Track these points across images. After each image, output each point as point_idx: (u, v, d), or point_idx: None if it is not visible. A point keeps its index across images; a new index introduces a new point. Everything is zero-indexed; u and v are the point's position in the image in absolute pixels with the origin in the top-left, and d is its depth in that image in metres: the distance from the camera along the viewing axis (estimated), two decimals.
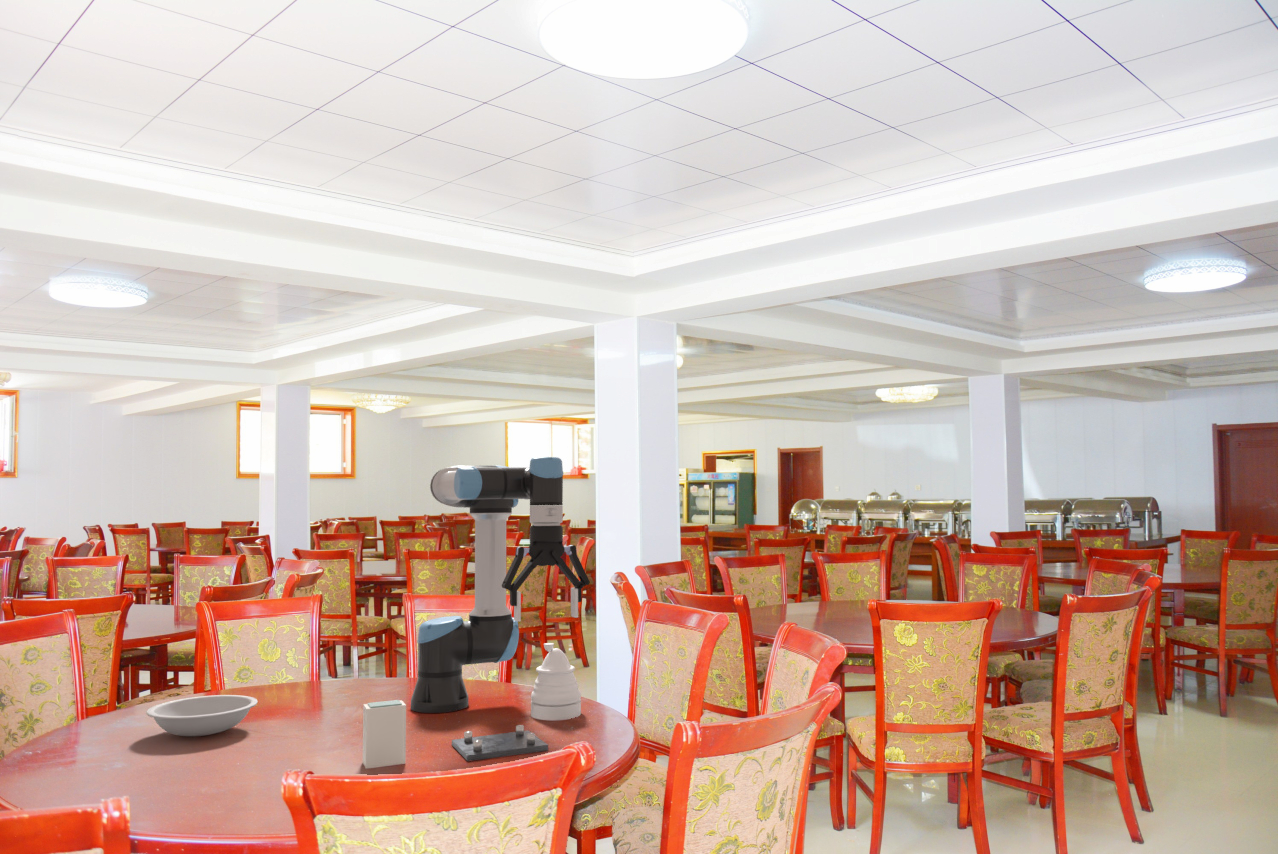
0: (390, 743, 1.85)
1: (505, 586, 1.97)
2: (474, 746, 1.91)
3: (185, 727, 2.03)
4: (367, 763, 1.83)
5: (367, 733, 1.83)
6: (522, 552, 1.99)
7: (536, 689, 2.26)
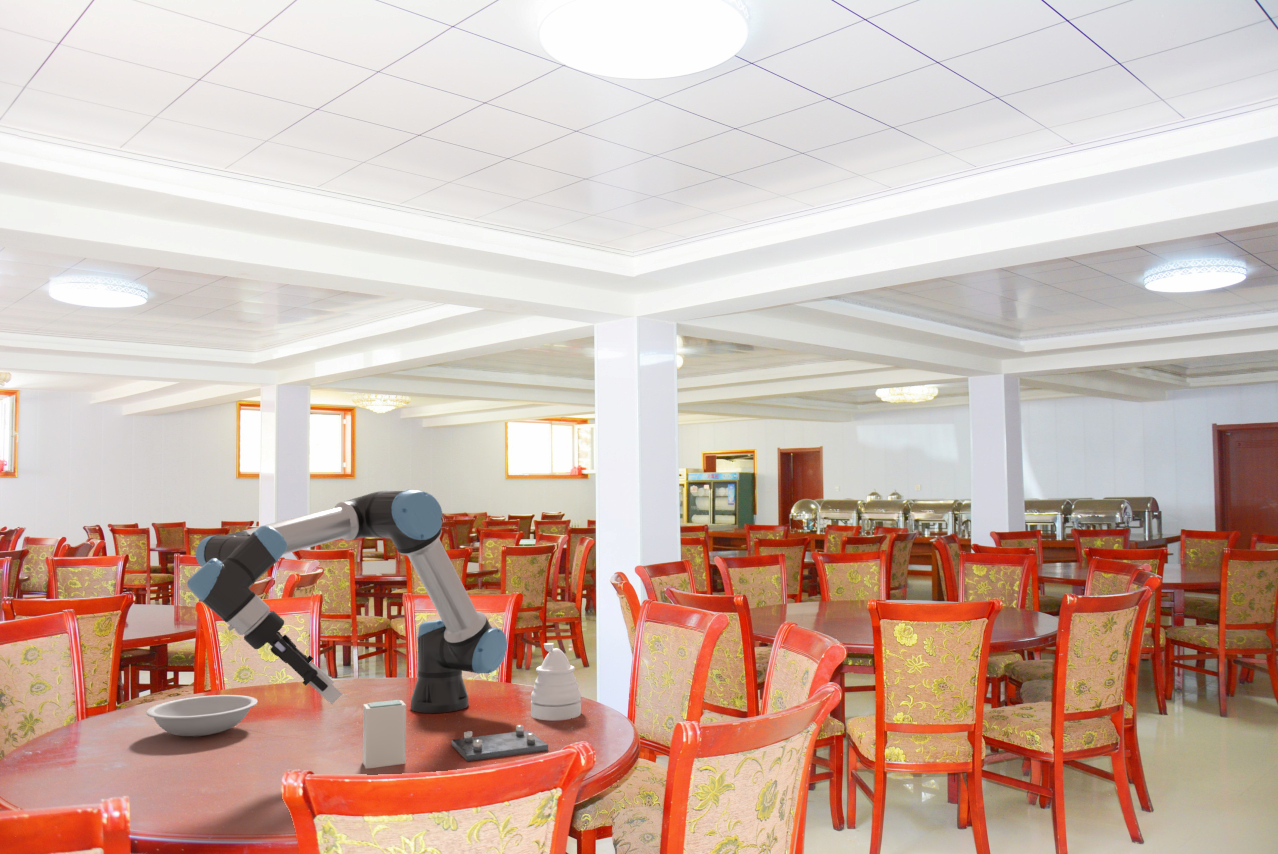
0: (390, 743, 1.85)
1: None
2: (474, 746, 1.91)
3: (185, 727, 2.03)
4: (367, 763, 1.83)
5: (367, 733, 1.83)
6: None
7: (536, 689, 2.26)
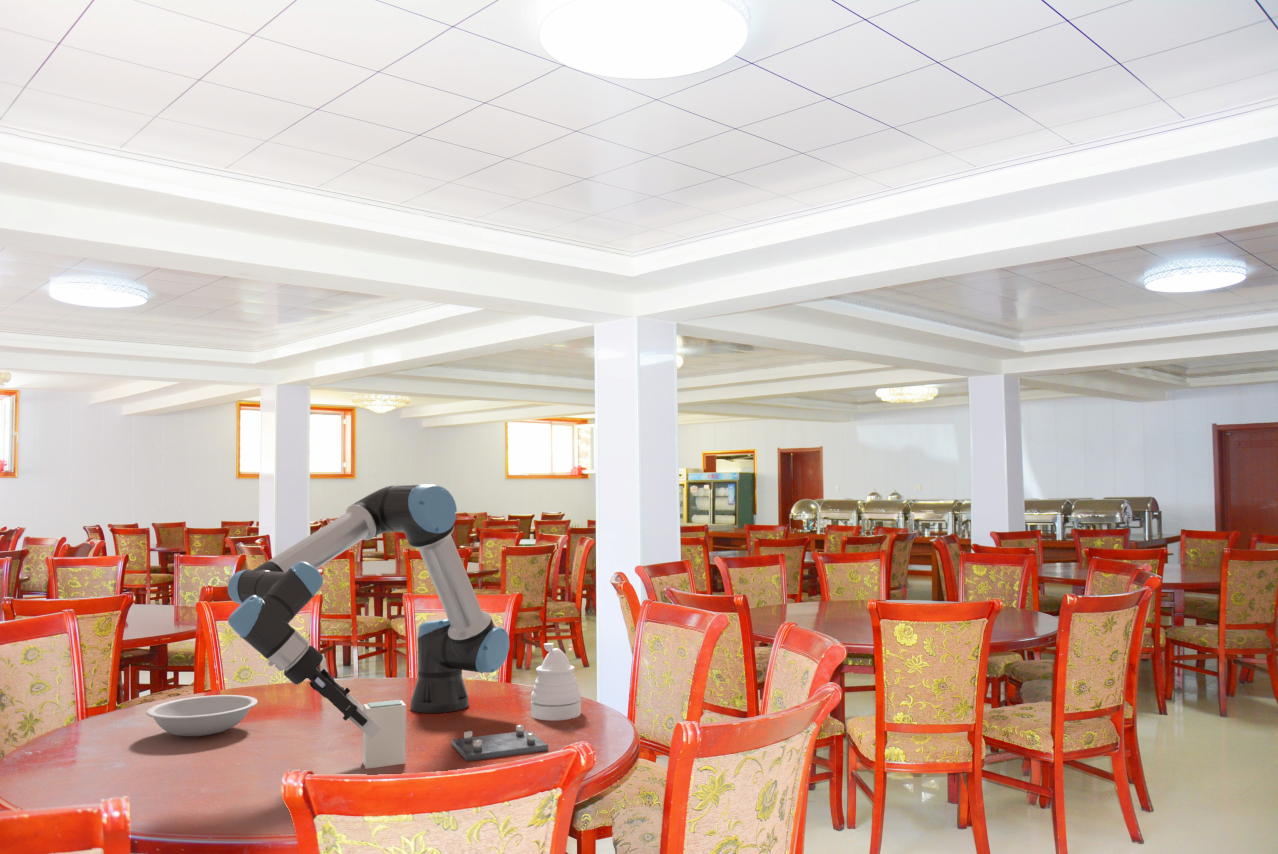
0: (390, 743, 1.85)
1: None
2: (474, 746, 1.91)
3: (185, 727, 2.03)
4: (367, 763, 1.83)
5: None
6: None
7: (536, 689, 2.26)
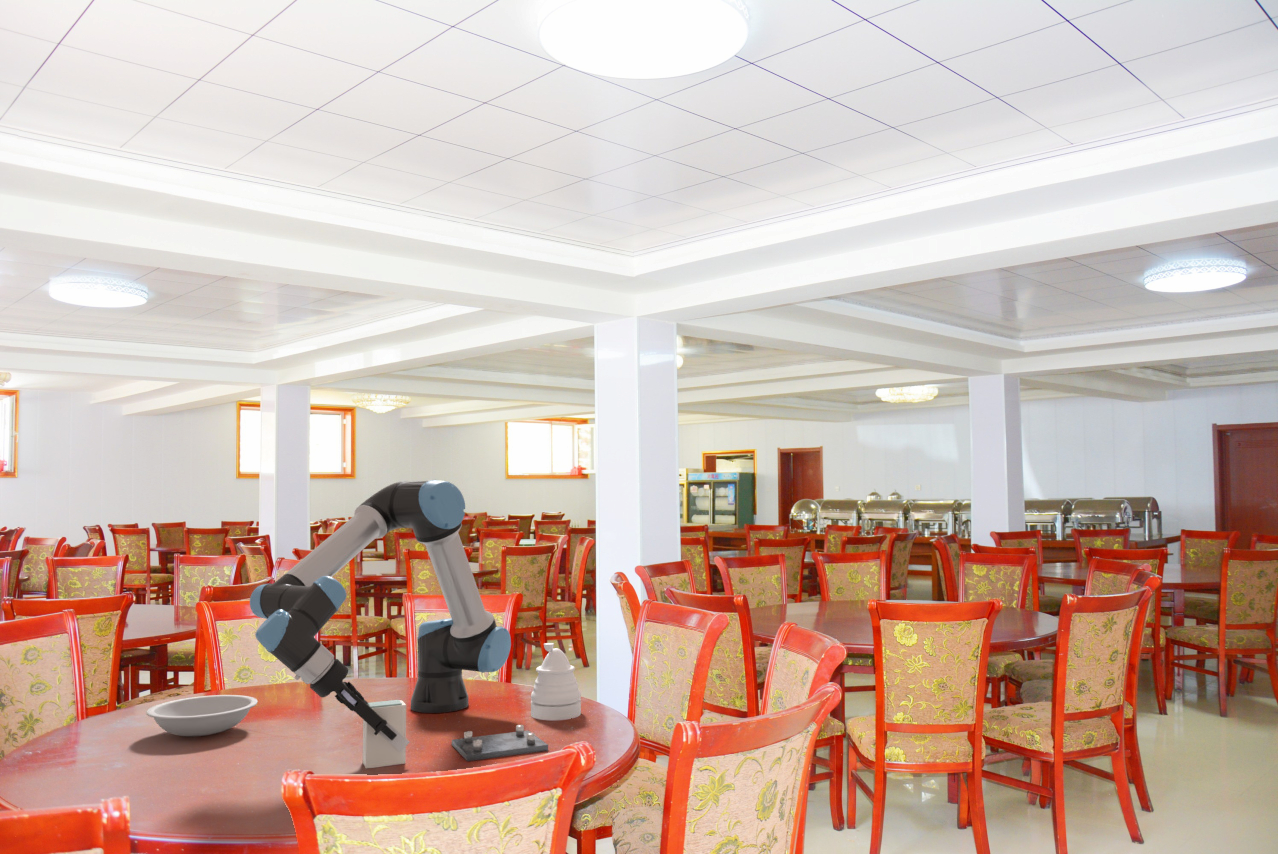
0: None
1: None
2: (474, 746, 1.91)
3: (185, 727, 2.03)
4: (367, 763, 1.83)
5: (367, 733, 1.83)
6: None
7: (536, 689, 2.26)
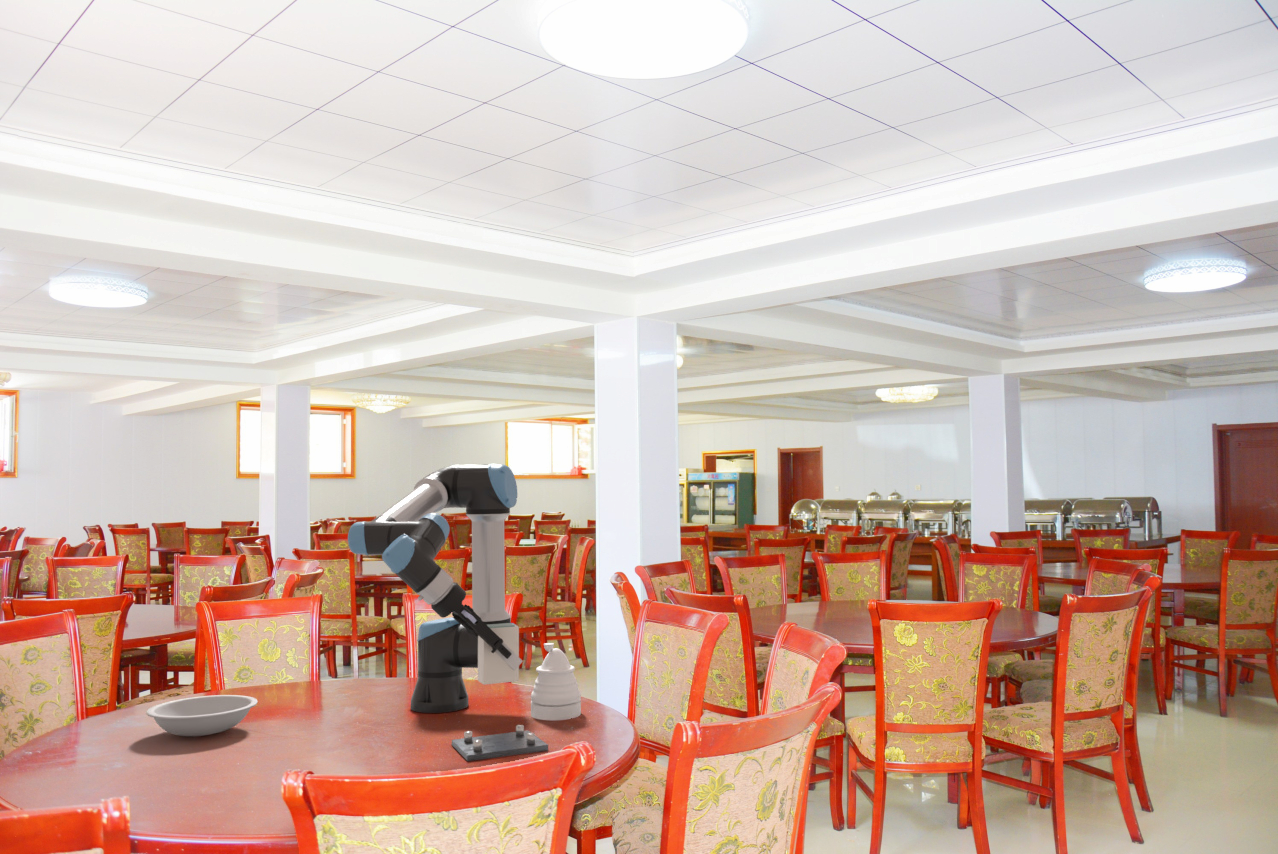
0: (505, 662, 1.97)
1: None
2: (474, 746, 1.91)
3: (185, 727, 2.03)
4: (484, 679, 1.95)
5: (484, 651, 1.95)
6: None
7: (536, 689, 2.26)
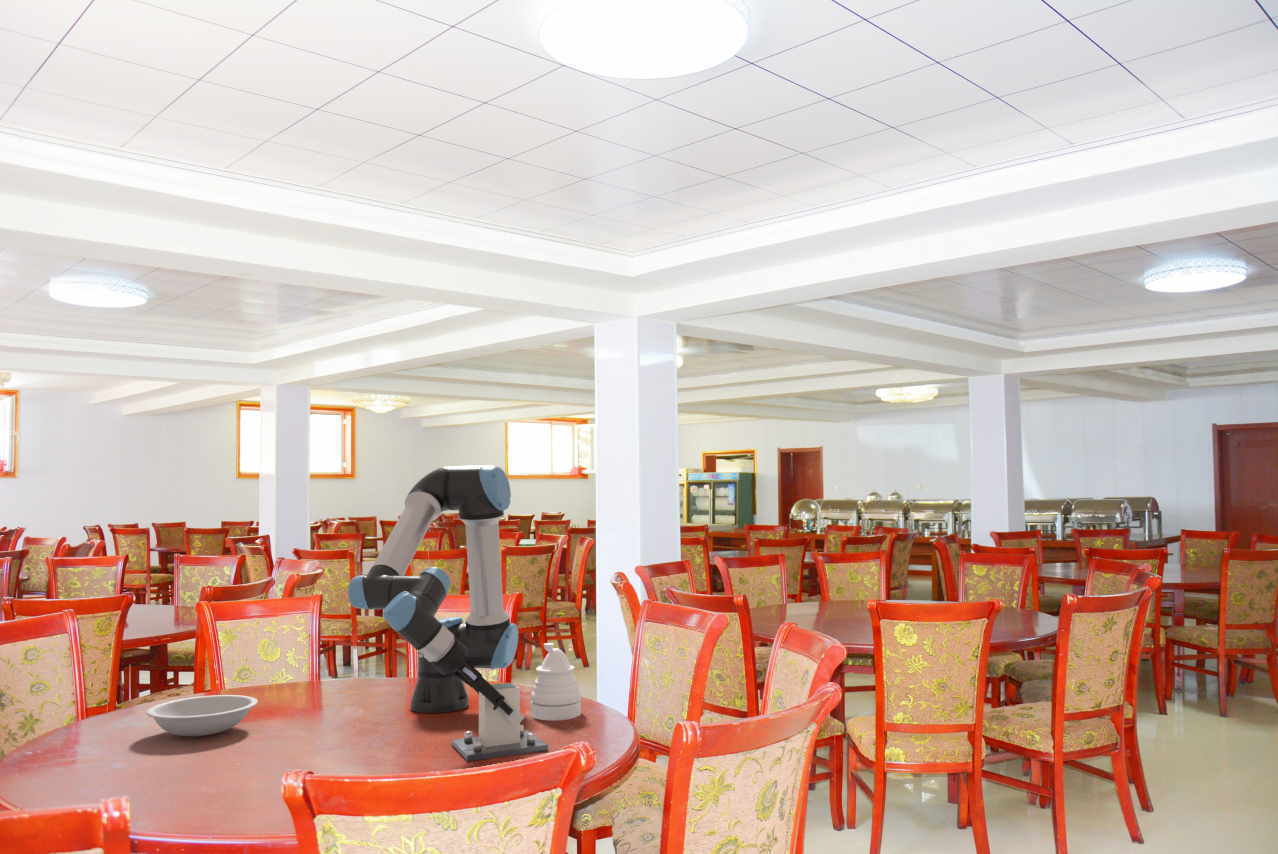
0: (506, 723, 1.96)
1: None
2: (474, 746, 1.91)
3: (185, 727, 2.03)
4: (486, 742, 1.94)
5: (485, 713, 1.94)
6: (455, 671, 2.00)
7: (536, 689, 2.26)
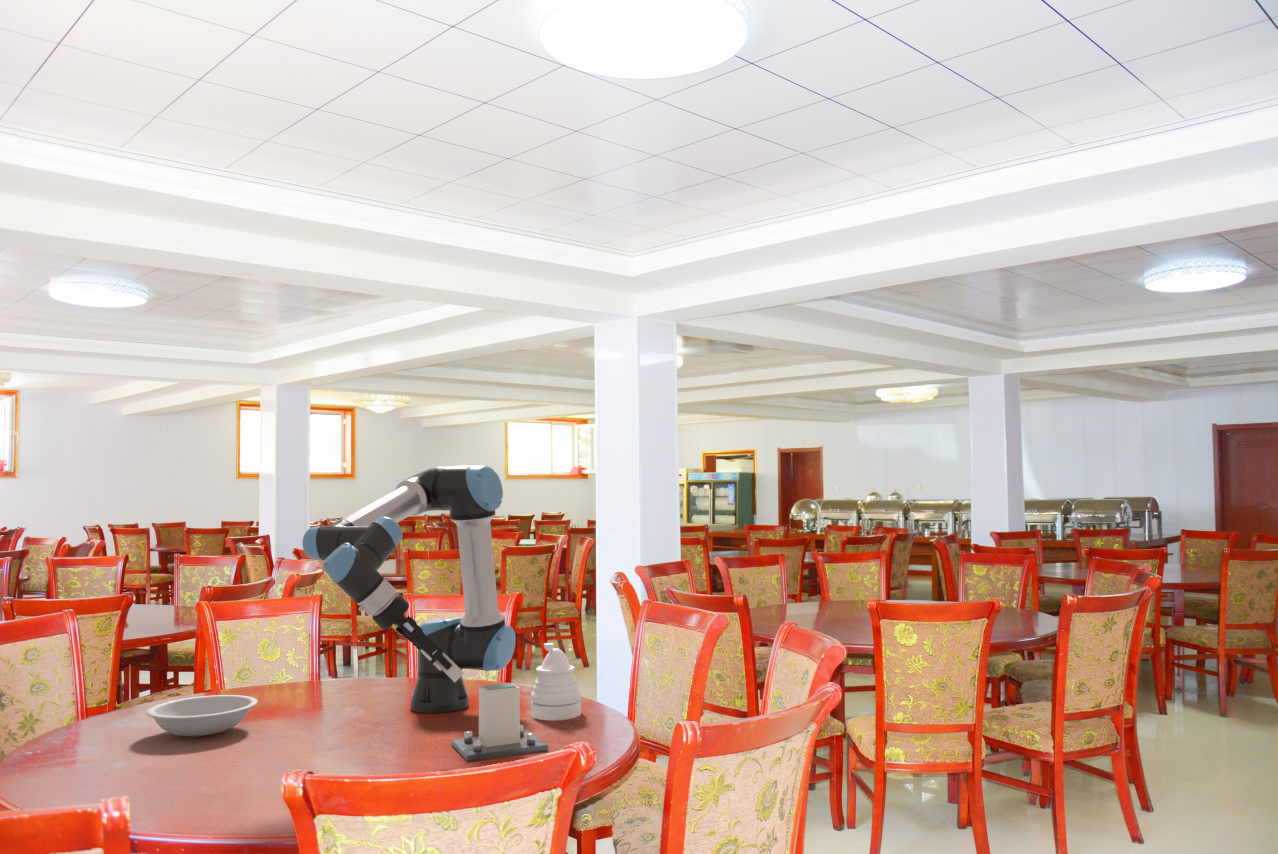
0: (506, 723, 1.96)
1: None
2: (474, 746, 1.91)
3: (185, 727, 2.03)
4: (486, 742, 1.94)
5: (485, 713, 1.94)
6: (394, 624, 1.96)
7: (536, 689, 2.26)
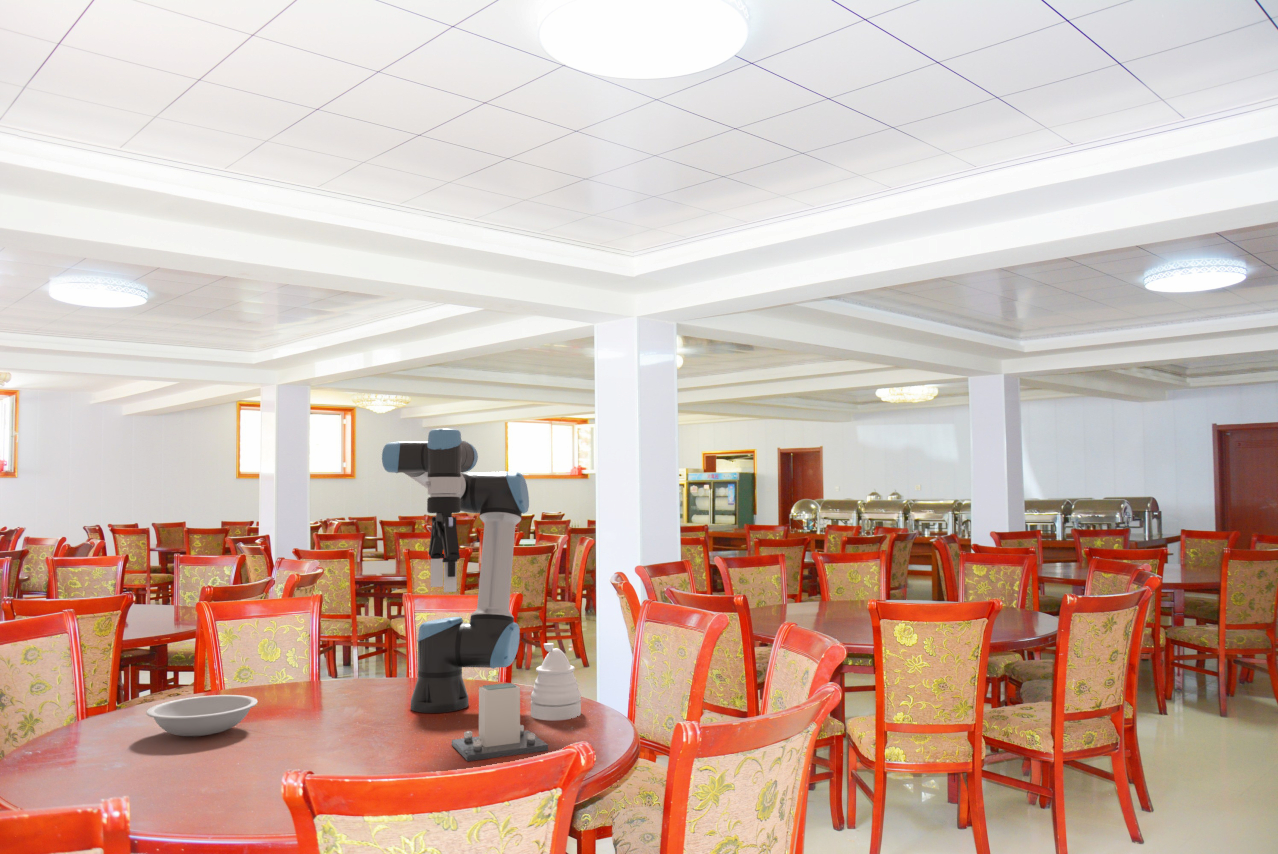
0: (506, 723, 1.96)
1: None
2: (474, 746, 1.91)
3: (185, 727, 2.03)
4: (486, 742, 1.94)
5: (485, 713, 1.94)
6: (432, 522, 2.09)
7: (536, 689, 2.26)
